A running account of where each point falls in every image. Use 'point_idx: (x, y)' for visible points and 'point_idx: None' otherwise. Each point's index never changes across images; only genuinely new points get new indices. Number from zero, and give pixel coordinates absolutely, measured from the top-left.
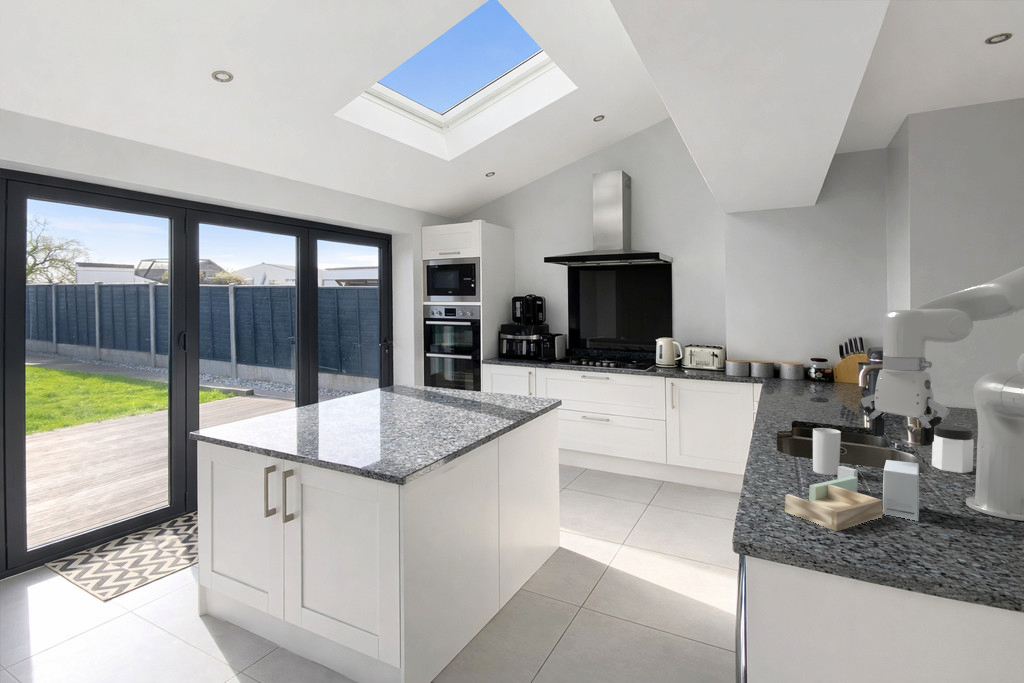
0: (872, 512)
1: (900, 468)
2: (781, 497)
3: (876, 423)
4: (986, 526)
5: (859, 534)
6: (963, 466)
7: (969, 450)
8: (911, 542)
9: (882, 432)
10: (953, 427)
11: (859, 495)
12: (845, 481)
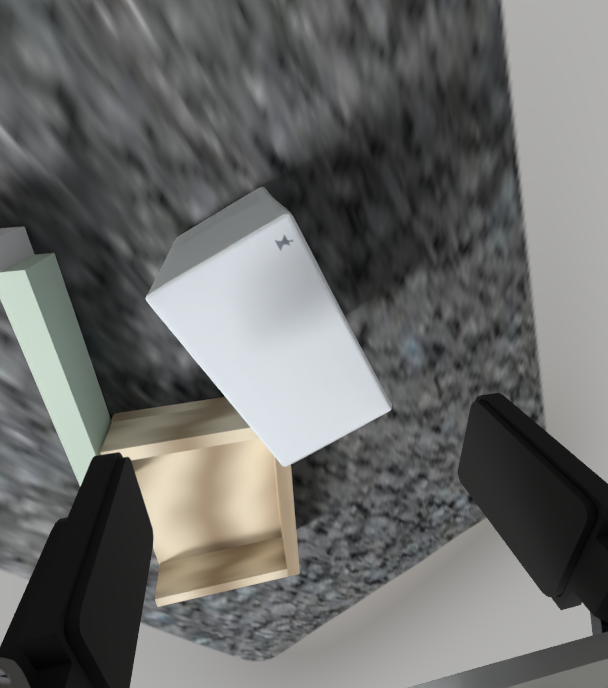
0: None
1: (309, 402)
2: (51, 513)
3: (130, 670)
4: (451, 156)
5: (320, 504)
6: None
7: None
8: (392, 446)
9: (130, 495)
10: None
11: (224, 443)
12: (61, 359)
